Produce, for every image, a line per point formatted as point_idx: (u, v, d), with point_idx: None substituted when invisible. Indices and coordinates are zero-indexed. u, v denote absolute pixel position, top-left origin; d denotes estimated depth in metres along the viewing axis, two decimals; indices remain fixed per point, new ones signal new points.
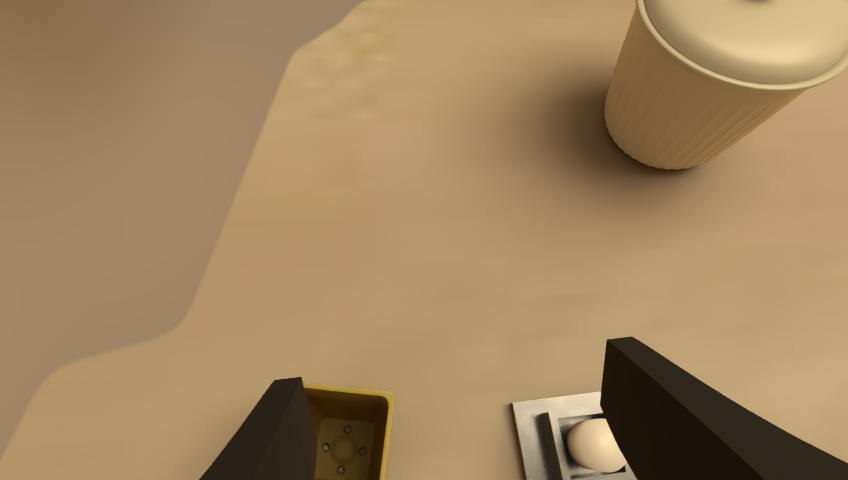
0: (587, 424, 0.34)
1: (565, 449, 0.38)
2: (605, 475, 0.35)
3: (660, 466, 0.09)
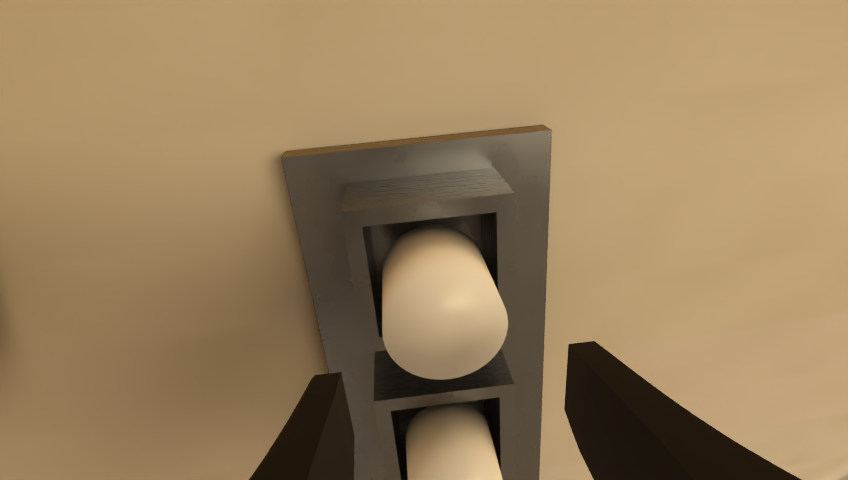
0: (410, 287, 0.12)
1: None
2: None
3: (615, 473, 0.09)
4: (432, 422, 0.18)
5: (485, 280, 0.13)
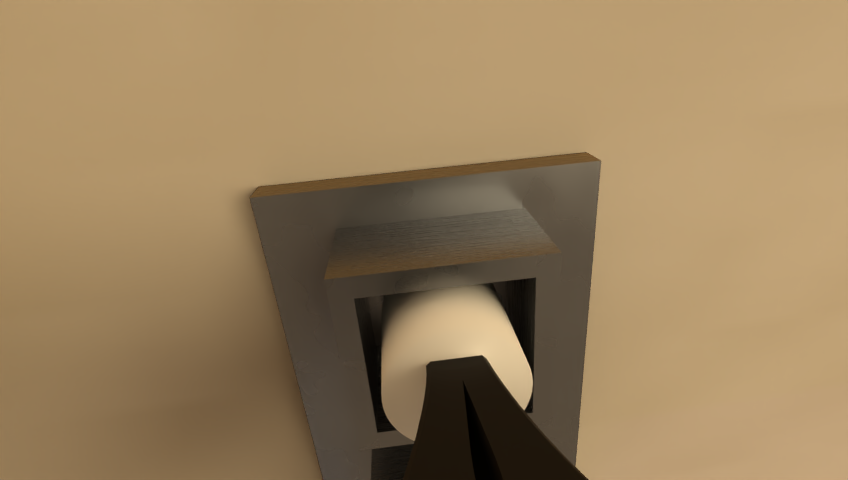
0: (415, 345, 0.10)
1: None
2: None
3: None
4: None
5: (506, 334, 0.10)
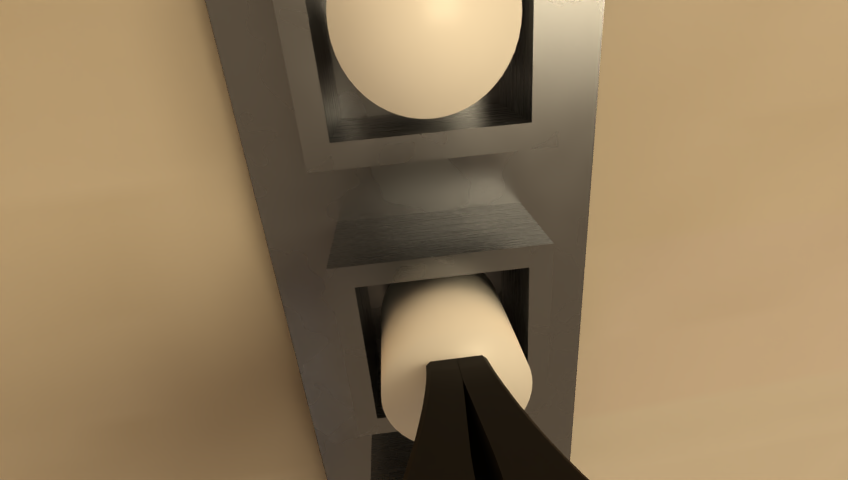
0: None
1: None
2: (456, 132, 0.10)
3: None
4: None
5: None
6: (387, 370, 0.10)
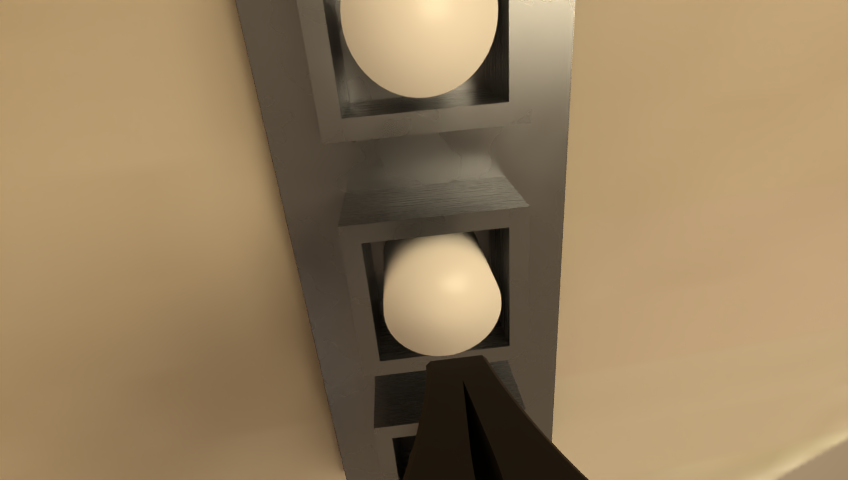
0: None
1: None
2: (446, 109, 0.12)
3: None
4: None
5: None
6: (388, 288, 0.13)
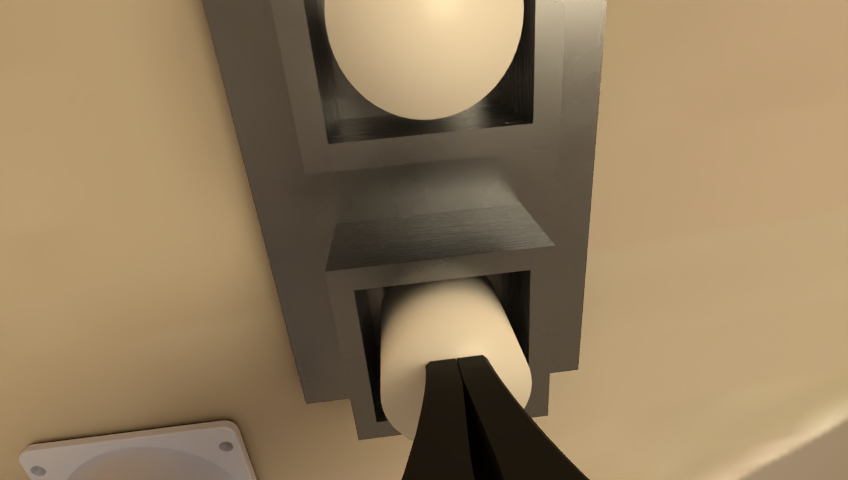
0: None
1: None
2: None
3: None
4: None
5: None
6: None
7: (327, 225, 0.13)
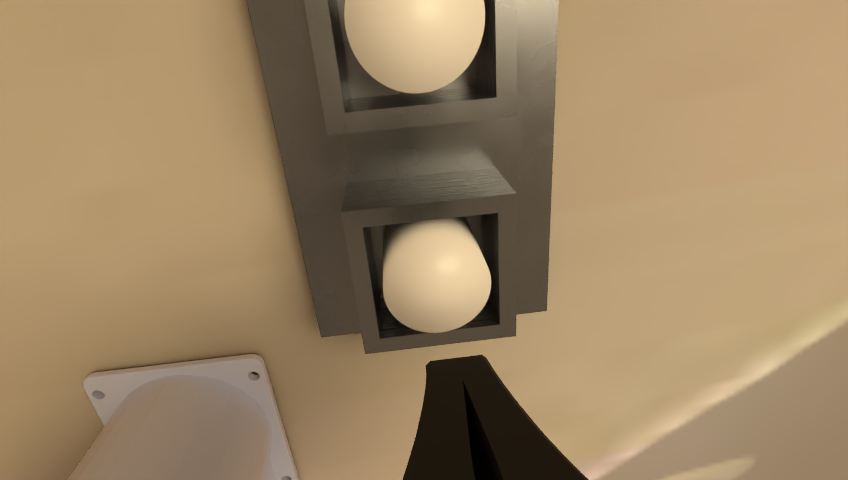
0: None
1: None
2: None
3: None
4: None
5: None
6: None
7: (340, 184, 0.17)
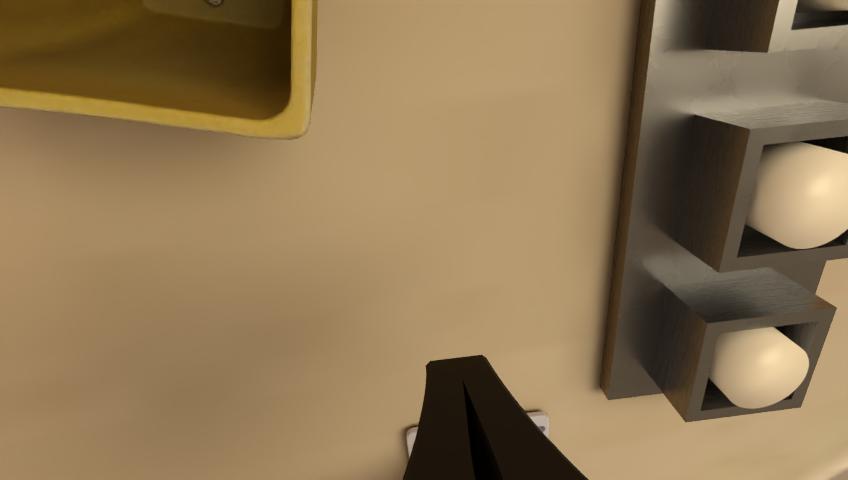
0: None
1: None
2: None
3: None
4: None
5: None
6: (784, 183, 0.16)
7: (660, 287, 0.21)
